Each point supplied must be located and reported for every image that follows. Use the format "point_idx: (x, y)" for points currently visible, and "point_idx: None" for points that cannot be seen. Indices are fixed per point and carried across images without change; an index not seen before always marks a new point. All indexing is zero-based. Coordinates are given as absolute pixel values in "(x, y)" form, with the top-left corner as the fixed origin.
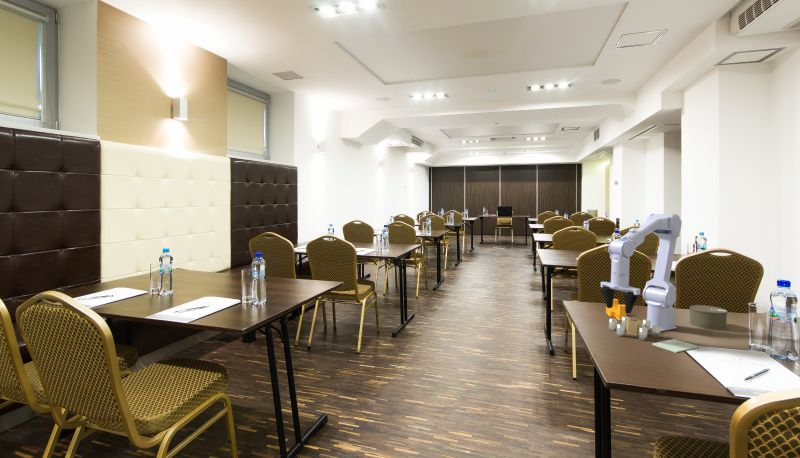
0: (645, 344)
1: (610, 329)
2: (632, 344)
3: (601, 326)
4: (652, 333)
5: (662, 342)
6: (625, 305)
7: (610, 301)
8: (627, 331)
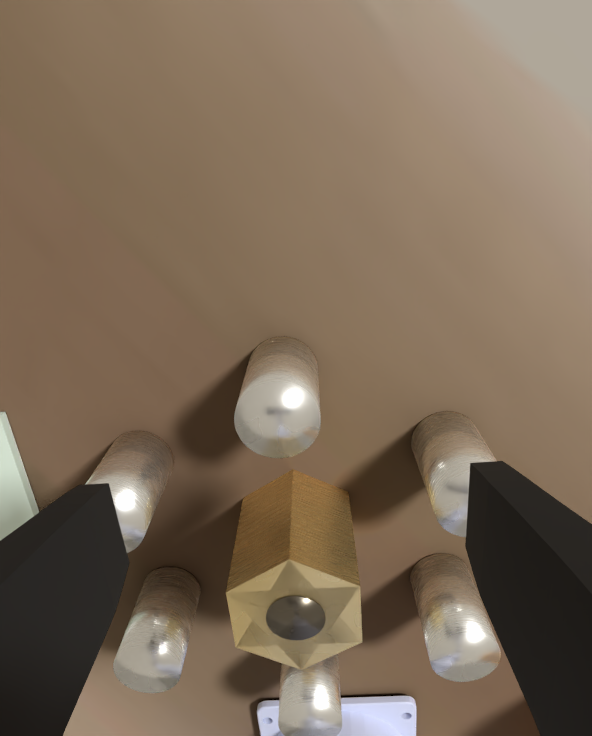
0: (21, 371)
1: (444, 414)
2: (35, 258)
3: (561, 419)
4: (172, 589)
5: (16, 512)
6: (10, 568)
7: (522, 612)
8: (321, 489)
